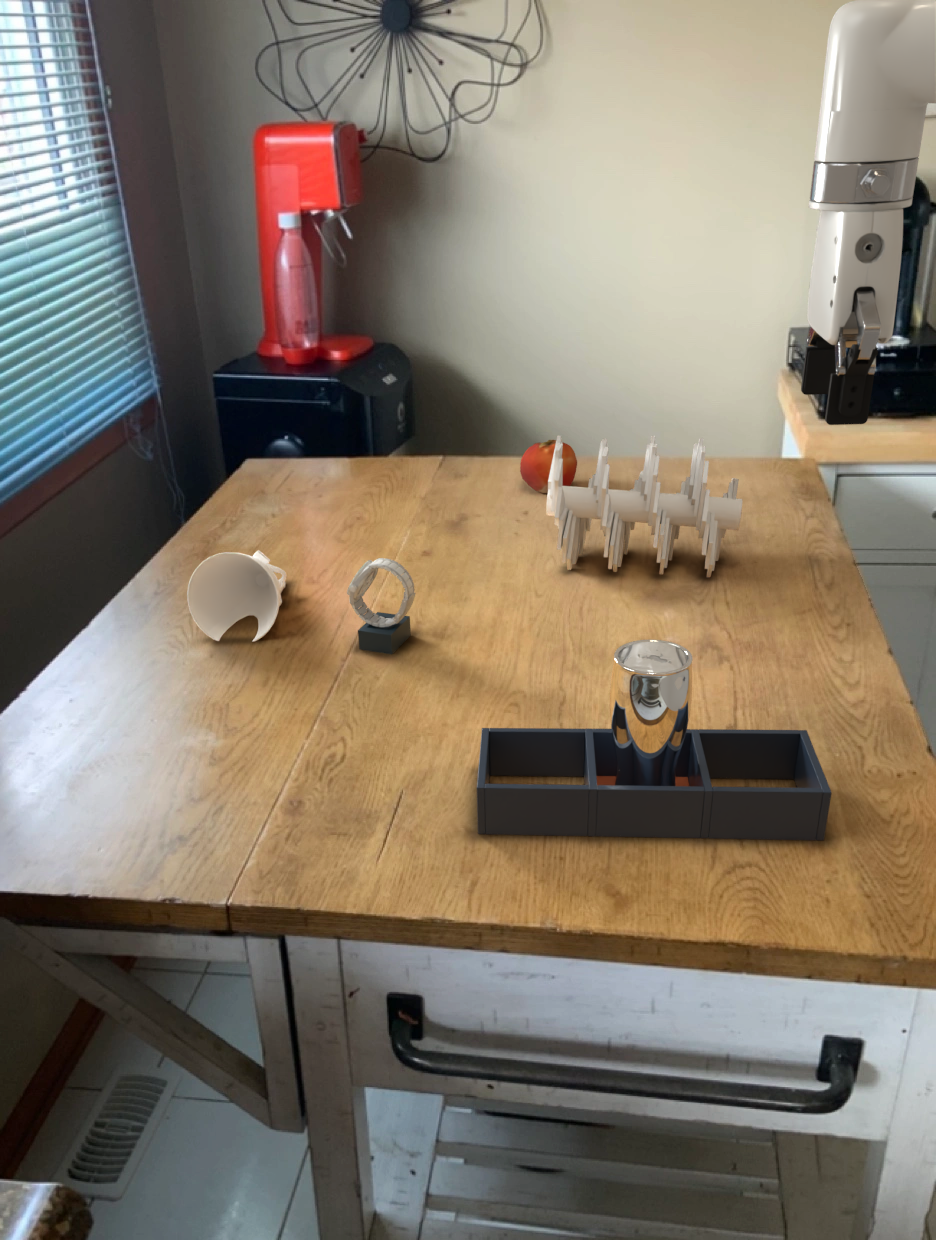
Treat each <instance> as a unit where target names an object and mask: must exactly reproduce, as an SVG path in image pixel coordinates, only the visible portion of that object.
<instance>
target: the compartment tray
mask: <svg viewBox="0 0 936 1240" xmlns="http://www.w3.org/2000/svg"><path fill="white" fill-rule="evenodd" d="M491 776H493V777H494V776H496V777H497V776H499V777H501V776H503V777H569V778H570V777H578V778H580V777H583V783H584V784H544V783H543V784H538V783H537V784H535V783H533V784H531V783H524V784H523V783H490V780H491V779H490V777H491ZM615 776H616V755H615V748H614V742H613V735H612V729H611V728H588V727H587V728H566V727H565V728H560V727H559V728H555V727H554V728H553V727H552V728H551V727H550V728H549V727H548V728H543V727H542V728H541V727H540V728H539V727H534V728H533V727H482V728H481V735H480V745H479V756H478V768H477V780H476V812H477V813H476V814H477V815H476V817H477V818H476V819H477V835H502V836H503V835H504V836H557V837H559V836H560V837H609V838H610V837H611V838H613V837H614V838H615V837H616V838H663V839H664V838H667V839H669V838H670V839H715V840H716V839H722V840H723V839H724V840H766V841H767V840H771V841H773V840H775V841H776V840H777V841H825V836H826V830H827V824H828V817H829V813H830V812H829V811H830V805H831V798H832V793H833V792H832V790H831V787H830V785H829V782H828V780H827V777H826V775H825V773H824V770H823V768H822V765H821V763H820V760H819V757H818V755H817V753H816V750H815V748H814V745H813V743H812V740H811V738H810V735H809V733H808V730H806V729H731V728H730V729H729V728H728V729H723V728H721V729H717V728H715V729H713V728H712V729H711V728H710V729H709V728H707V729H706V728H705V729H703V728H699V729H696V728H695V729H694V728H693V729H691V728H687V731H686V734H685V738H684V741H683V745H682V748H681V752H680V755H679V759H678V763H677V768H676V786H622V785H613V784H614V780H615ZM711 779H730V780H731V779H738V780H794V784H795V785H796V787H777V786H776V787H773V786H772V787H771V786H769V787H768V786H713V785H712V780H711Z"/></svg>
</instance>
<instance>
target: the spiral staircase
mask: <svg viewBox="0 0 936 1240" xmlns="http://www.w3.org/2000/svg"><path fill="white" fill-rule="evenodd" d="M555 440H556V445H555V450H554V454H553V459H552V464H551V469H550V474H549V479H548V493H546V494H547V495H546V507H545V510H546V511H545V514H546V516H550V517H551V516H553V517H554V522H553V523H554V524H553V525H554V526H556V528H557V545H556V550H557V551H561V564H566V568H567V571H572V569H573V565H576V564H577V562H578V559H579V555H583V553H584V548H585V543H586V539H587V532H591V528H592V527H591V526H592V520H600V525H599V528H600V529H599V530H600V531H602V532H603V537H605V538H604V539H605V540H604V550H603V551H604V552H603V558H608V565H607V569H608V570H612V572H613V573H618V568H621V567H622V563H623V556H624V555H628V551H629V546H630V545H629V544H630V539H631V531H635V527H636V523H641V524H647V526H649V527H650V526H651V531H650V536H653V544H652V545H653V546H652V548H655V549H657V555H656V564H659V572H658V574H659V575H664V571H665V569H667V568H668V562H669V561H673V553H674V547H675V540H679V536H680V529H681V527H691V528H695V531H698V539H701V555H702V556H705V560H704V570H706V578H711V576H712V572H714V571H715V566H716V562H719V560H720V559H719V558H720V553H721V546H722V540H723V539H725V535H726V531H728V530H730V531H739V528H740V524H741V518H742V511H743V510H742V509H743V498H737V496H738V495H737V494H738V488H739V481H740V480H739V478H736V477H732V478H731V480H730V482H729V484H728V487H727V488H728V489H727V492H723V494H722V496H710V495H711V489H708V488H707V484H708V475H709V465H710V460H706V446H705V445H703V444H704V438H703V437H699V439H698V443H695V442H694V443H693V449H692V456H691V464H690V472H689V476H686V477H685V480H682V481H681V485H680V492H676V493H667V492H661V481H658V476H659V466H660V458H661V455H659V454H658V455H657V450H658V443H656V435H651V436H650V443H646V450H645V456H644V463H643V470H641V471H640V473H639V475H638V479H634V486H633V488H630V490H626V489H614V488H613V489H611V488H610V486H609V485H610V467H611V465H610V464H609V450H610V448H609V445H608V438H602V439H601V440H600V445H599V449H598V458H597V464H596V469H595V473H594V474H592V475H591V477H589V479H588V486H587V487H585V486H574V485H573V486H572V485H570V486H562V484H563V459H562V449H563V444H562V442H563V439H562V435H557V436H556V439H555Z"/></svg>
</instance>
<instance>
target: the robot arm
mask: <svg viewBox="0 0 936 1240" xmlns="http://www.w3.org/2000/svg"><path fill="white" fill-rule="evenodd" d="M828 28H829V30H828V35H827V43H826V52H825V60H824V71H823V78H822V87H821V88H822V89H821V96H820V105H819V115H818V121H817V130H816V131H817V132H816V139H815V150H814V157H813V160H814V161H813V166H812V174H811V175H812V176H811V183H810V192H809V201H808V208H809V209H810V210H817V211H820V213H819V218H818V224H817V227H816V235H815V242H814V249H813V254H812V255H813V256H812V263H811V270H810V276H809V277H810V278H809V286H808V295H807V308H806V309H807V310H806V318H807V322H808V325H809V331H808V333H807V340H806V343H807V346H806V347H805V352H804V353H805V354H804V361H803V369H802V378H801V386H800V391H801V393H802V394H803V395H805V396H808V395H809V396H810V395H827V401H826V409H825V417H824V421H825V422H826V424H827V425H829V426H843V425H845V426H847V425H864V424H866V423H867V422H868V419H869V413H870V406H871V399H872V395H873V394H872V392H873V387H874V379H875V374H876V368H877V356H878V354H879V347H877V345H878V344H886V343H888V342H889V341H890V340H891V338H892V337H893V334H894V327H895V317H896V310H897V302H898V301H897V300H898V293H899V292H898V291H899V285H900V284H899V283H900V282H899V281H900V273H901V263H902V255H903V254H902V253H903V252H902V251H903V240H904V238H903V236H904V209H905V208H909V207H911V206H912V205H913V199H914V198H913V197H914V191H915V185H916V179H917V172H918V166H919V160H920V158H919V157H920V152H921V148H922V147H921V146H922V139H923V132H924V126H925V120H926V113H927V107H928V105H929V104H936V0H852V1H848V2H846V3H844V4H842V5H841V6H840V7H839V8H837V10H836V11H835V13H834V14H833V17H832V18H831V21H830V24H829V27H828ZM847 348H848V349H849V350H848V353H847Z"/></svg>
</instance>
